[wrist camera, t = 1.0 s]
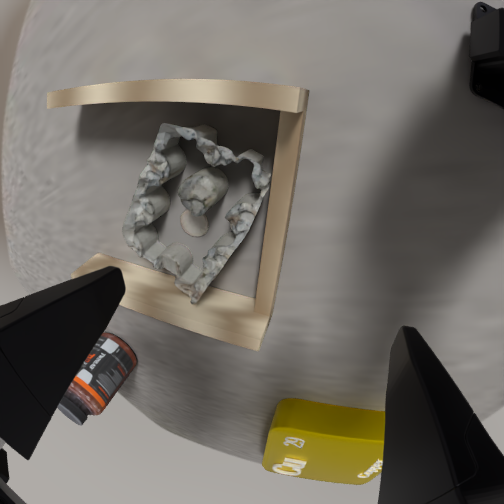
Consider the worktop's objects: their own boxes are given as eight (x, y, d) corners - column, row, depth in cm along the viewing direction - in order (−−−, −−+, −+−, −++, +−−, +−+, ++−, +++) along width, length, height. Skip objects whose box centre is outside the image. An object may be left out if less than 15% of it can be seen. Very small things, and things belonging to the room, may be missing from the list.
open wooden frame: (309, 90, 15) (300, 87, 12) (272, 315, 23) (258, 351, 20) (85, 87, 18) (47, 92, 15) (100, 263, 27) (73, 285, 23)
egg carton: (215, 280, 24) (193, 312, 20) (140, 227, 24) (109, 251, 20) (291, 170, 18) (277, 189, 15) (192, 108, 18) (157, 113, 14)
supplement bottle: (109, 323, 31) (50, 392, 22) (146, 358, 32) (95, 431, 23) (94, 338, 34) (43, 398, 25) (127, 369, 36) (82, 432, 26)
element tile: (368, 460, 33) (364, 488, 29) (268, 445, 36) (259, 473, 32) (413, 410, 26) (414, 448, 22) (280, 391, 29) (268, 429, 25)
